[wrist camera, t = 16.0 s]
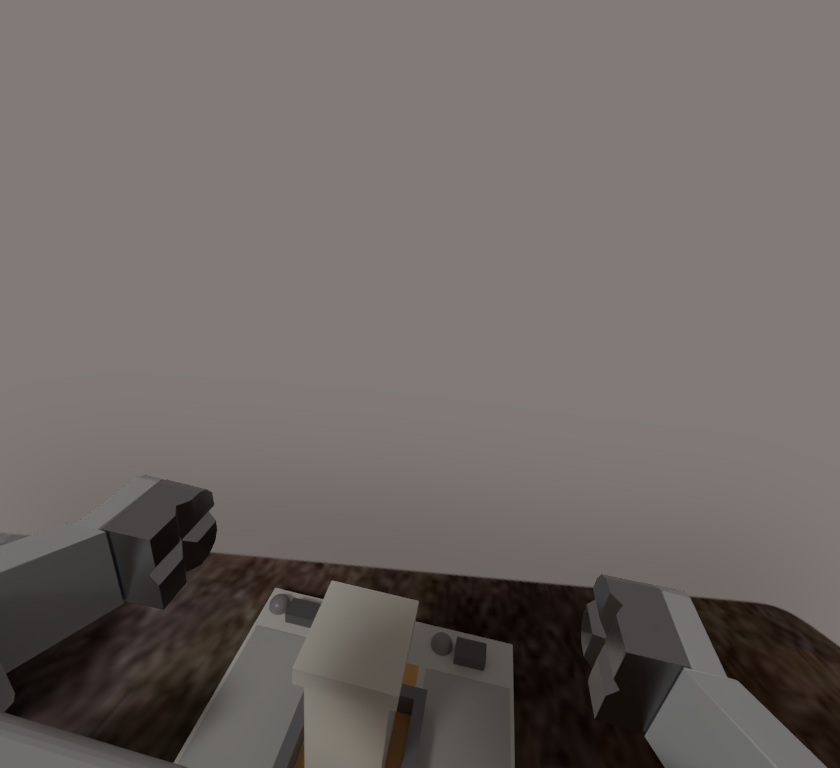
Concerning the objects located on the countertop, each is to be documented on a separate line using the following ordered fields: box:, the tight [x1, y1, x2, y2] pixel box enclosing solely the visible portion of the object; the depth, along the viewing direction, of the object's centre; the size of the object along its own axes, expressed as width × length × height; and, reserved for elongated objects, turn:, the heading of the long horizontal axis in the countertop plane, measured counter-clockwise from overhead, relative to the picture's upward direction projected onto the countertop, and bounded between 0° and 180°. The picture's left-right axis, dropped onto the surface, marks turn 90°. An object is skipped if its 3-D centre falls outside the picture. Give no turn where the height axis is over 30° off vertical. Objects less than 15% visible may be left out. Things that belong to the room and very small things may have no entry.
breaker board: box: [174, 588, 515, 768], centre depth 29 cm, size 21×18×3 cm
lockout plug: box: [292, 581, 419, 768], centre depth 25 cm, size 5×5×12 cm
